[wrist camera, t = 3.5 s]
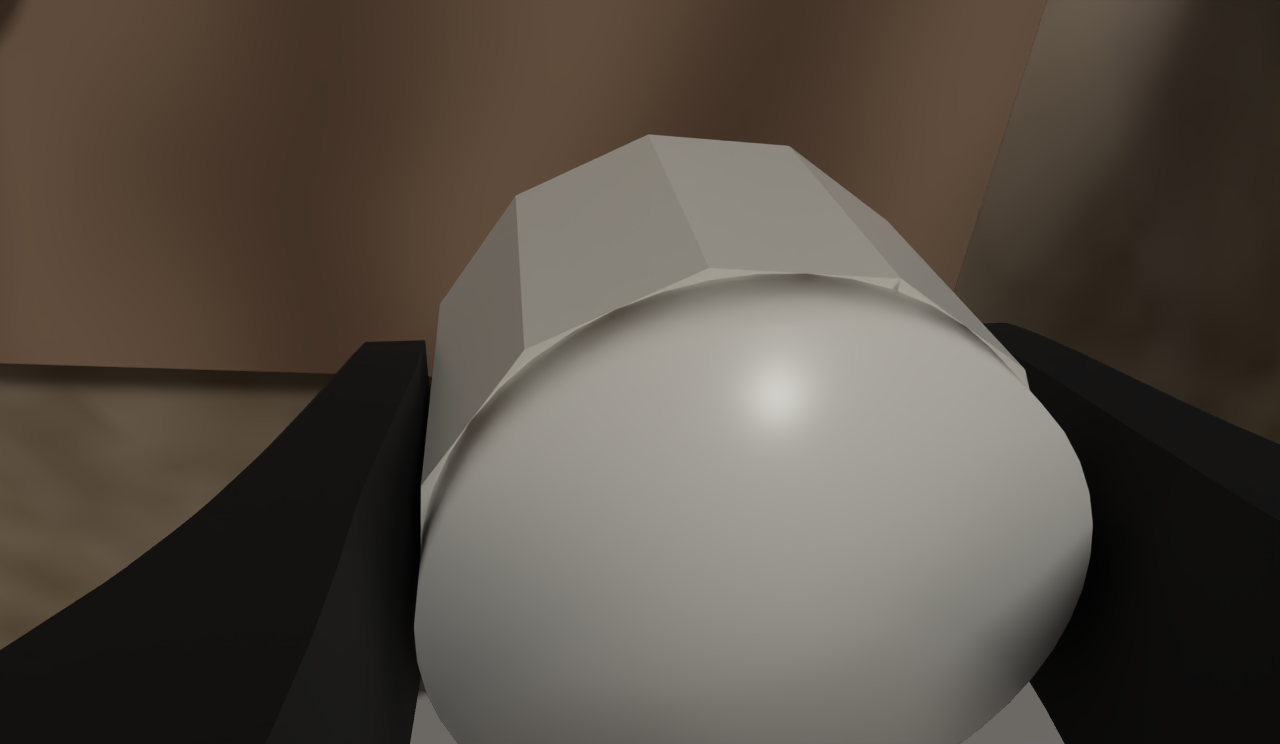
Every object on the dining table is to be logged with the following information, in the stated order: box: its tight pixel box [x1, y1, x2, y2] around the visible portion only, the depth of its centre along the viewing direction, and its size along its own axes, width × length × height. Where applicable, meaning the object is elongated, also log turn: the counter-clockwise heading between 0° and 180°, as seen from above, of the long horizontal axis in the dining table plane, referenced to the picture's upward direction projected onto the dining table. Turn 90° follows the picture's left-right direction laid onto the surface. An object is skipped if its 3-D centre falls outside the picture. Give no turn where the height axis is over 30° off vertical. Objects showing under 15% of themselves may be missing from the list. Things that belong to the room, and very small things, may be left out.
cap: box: [414, 134, 1093, 744], centre depth 9 cm, size 6×6×4 cm
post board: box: [0, 0, 1047, 377], centre depth 12 cm, size 20×10×6 cm, turn 83°
